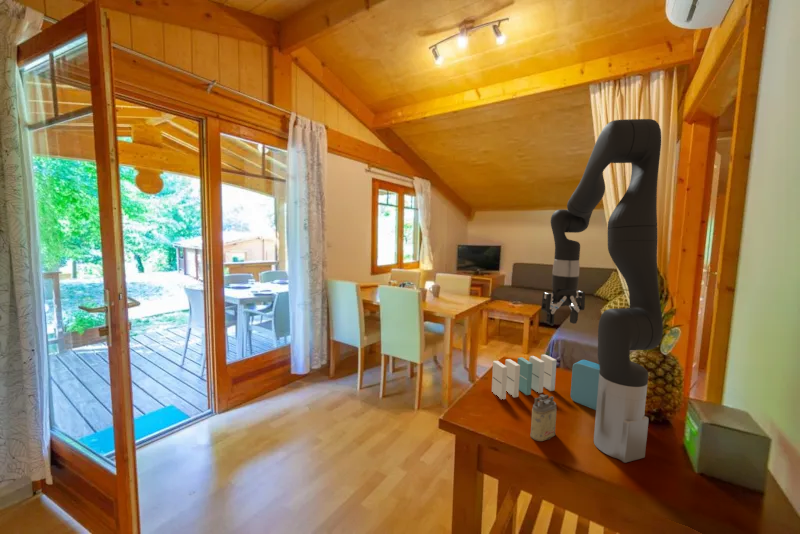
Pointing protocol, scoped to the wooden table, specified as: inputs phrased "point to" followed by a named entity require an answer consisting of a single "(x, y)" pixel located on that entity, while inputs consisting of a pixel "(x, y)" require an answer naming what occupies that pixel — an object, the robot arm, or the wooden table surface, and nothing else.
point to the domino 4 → (537, 374)
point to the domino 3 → (525, 376)
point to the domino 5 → (549, 372)
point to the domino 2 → (512, 377)
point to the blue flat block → (585, 383)
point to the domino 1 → (499, 379)
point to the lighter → (543, 418)
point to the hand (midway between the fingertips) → (561, 323)
